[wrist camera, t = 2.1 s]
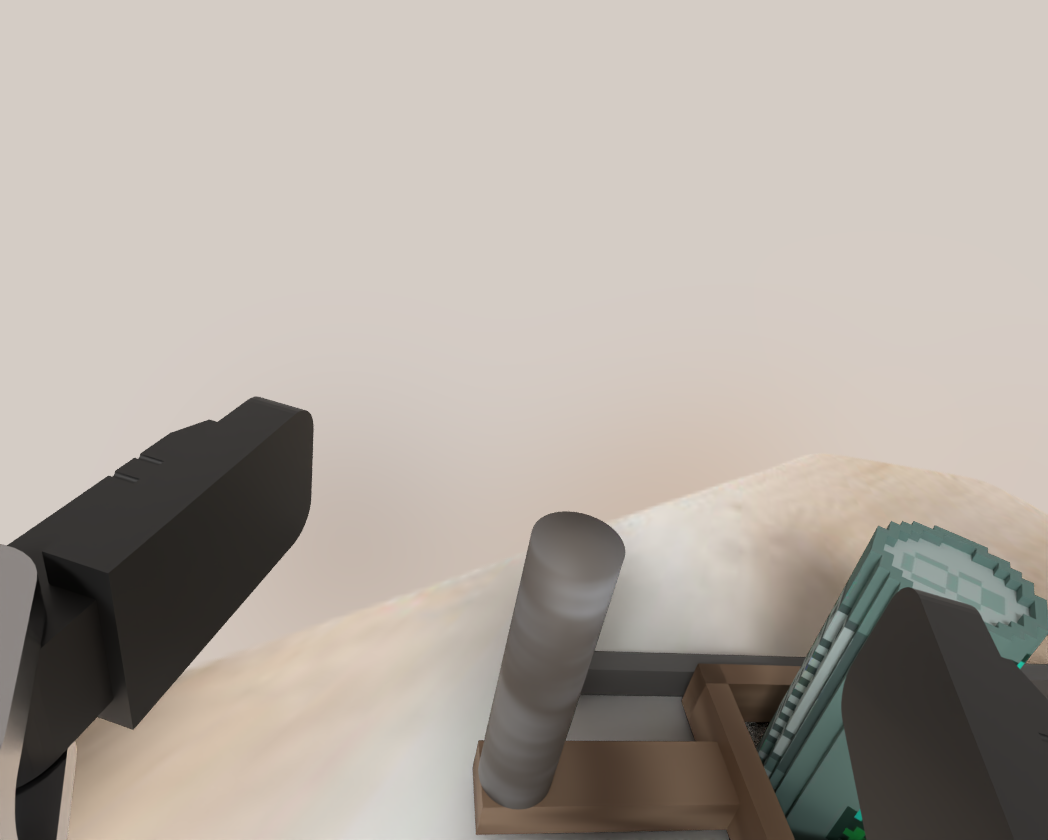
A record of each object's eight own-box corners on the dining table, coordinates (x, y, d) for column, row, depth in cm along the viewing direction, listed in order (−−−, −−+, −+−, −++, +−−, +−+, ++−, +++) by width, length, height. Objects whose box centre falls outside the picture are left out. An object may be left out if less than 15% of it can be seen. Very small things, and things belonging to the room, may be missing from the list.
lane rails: (1051, 686, 43) (1069, 664, 42) (1289, 951, 31) (1322, 929, 30) (557, 675, 38) (565, 650, 37) (616, 995, 26) (629, 970, 25)
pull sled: (971, 705, 40) (1127, 501, 33) (1123, 905, 31) (1384, 688, 24) (467, 697, 35) (516, 451, 27) (478, 936, 26) (555, 668, 18)
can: (863, 898, 30) (1053, 667, 23) (730, 812, 32) (863, 577, 25) (881, 792, 35) (1044, 572, 27) (764, 723, 37) (884, 503, 30)
